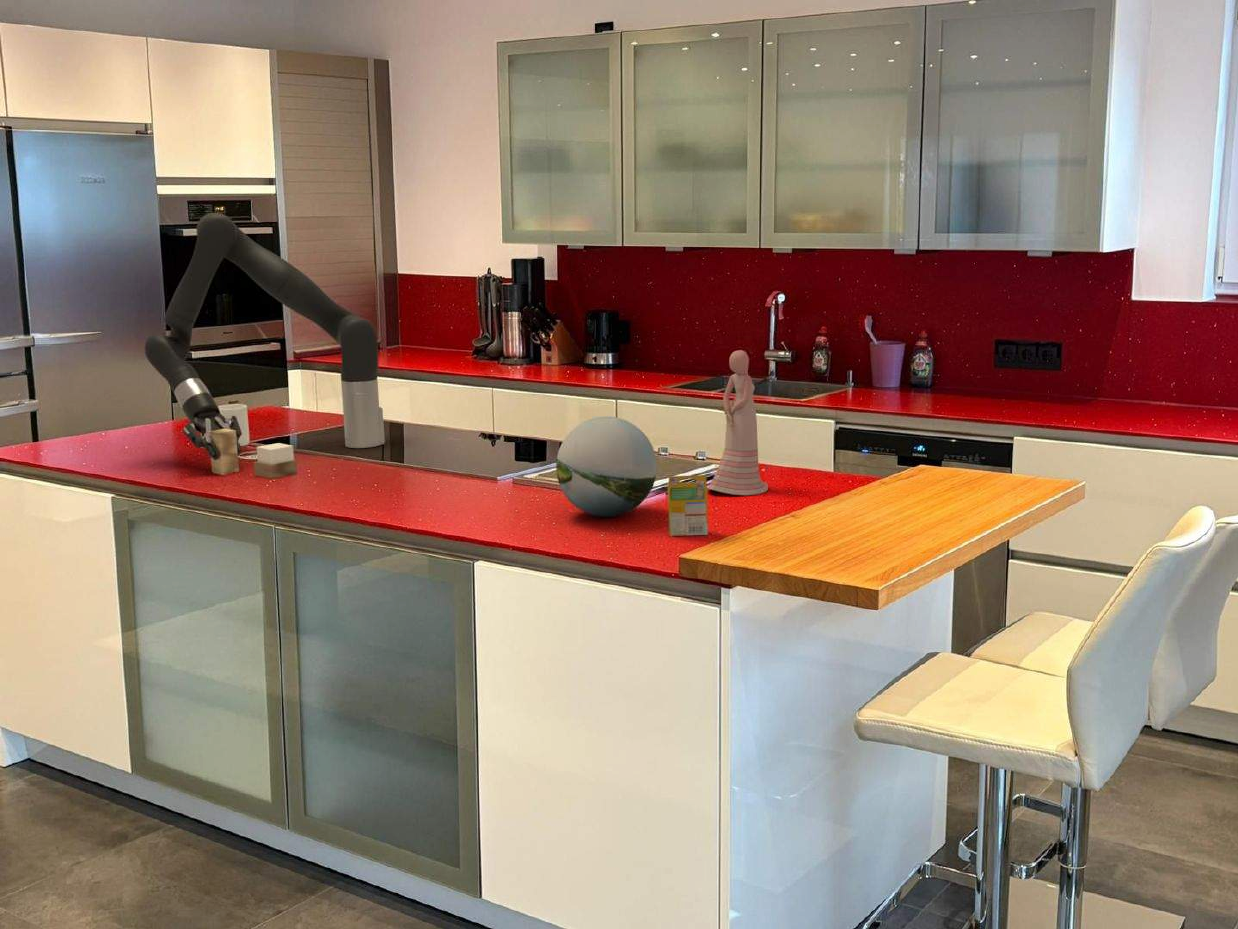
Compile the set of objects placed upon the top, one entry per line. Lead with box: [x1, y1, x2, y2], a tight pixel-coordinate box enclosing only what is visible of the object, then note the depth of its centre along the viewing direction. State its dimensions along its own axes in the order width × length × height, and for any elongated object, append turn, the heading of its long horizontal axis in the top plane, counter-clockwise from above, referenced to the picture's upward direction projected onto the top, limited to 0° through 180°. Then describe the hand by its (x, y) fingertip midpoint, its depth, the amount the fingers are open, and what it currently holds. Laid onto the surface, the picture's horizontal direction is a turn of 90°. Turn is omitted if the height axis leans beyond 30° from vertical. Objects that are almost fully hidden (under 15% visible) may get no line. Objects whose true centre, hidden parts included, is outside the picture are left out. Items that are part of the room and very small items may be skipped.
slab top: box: [256, 442, 295, 465], centre depth 318 cm, size 6×6×4 cm
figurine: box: [707, 349, 769, 496], centre depth 287 cm, size 13×13×30 cm
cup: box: [217, 403, 251, 447], centre depth 355 cm, size 8×12×10 cm
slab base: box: [253, 459, 298, 480], centre depth 319 cm, size 7×7×4 cm
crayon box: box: [667, 474, 709, 538], centre depth 254 cm, size 7×3×12 cm, turn 92°
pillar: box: [210, 429, 240, 476], centre depth 322 cm, size 4×4×10 cm
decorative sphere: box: [555, 416, 658, 518], centre depth 269 cm, size 20×20×20 cm
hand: (228, 455), depth 321 cm, fingers open, 5 cm apart
